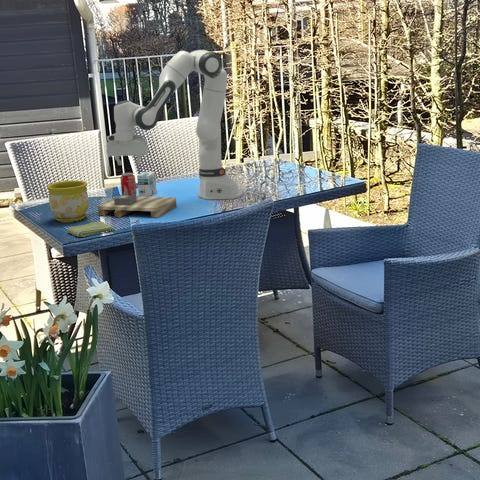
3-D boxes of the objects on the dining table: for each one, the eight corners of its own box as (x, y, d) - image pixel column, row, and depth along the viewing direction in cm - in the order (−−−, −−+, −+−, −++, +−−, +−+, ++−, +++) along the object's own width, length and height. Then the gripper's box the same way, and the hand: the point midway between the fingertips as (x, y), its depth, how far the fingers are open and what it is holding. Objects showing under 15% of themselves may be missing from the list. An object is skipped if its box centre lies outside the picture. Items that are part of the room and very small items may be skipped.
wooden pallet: (178, 205, 375) (177, 196, 374) (155, 218, 352) (154, 209, 350) (122, 203, 385) (121, 194, 384) (96, 216, 361) (95, 207, 360)
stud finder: (136, 201, 367) (136, 195, 366) (130, 205, 360) (129, 198, 359) (121, 201, 369) (120, 194, 368) (114, 204, 363) (113, 198, 362)
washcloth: (116, 231, 335) (116, 224, 334) (79, 240, 325) (78, 232, 324) (102, 226, 345) (101, 219, 344) (65, 234, 335) (64, 227, 334)
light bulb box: (150, 196, 399) (149, 175, 396) (138, 196, 400) (136, 175, 398) (157, 191, 409) (155, 171, 406) (144, 191, 410) (143, 171, 408)
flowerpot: (93, 213, 368) (89, 179, 363) (87, 222, 351) (83, 187, 346) (55, 215, 368) (51, 181, 363) (47, 225, 350) (43, 189, 346)
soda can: (122, 197, 378) (120, 173, 375) (137, 196, 378) (134, 172, 375) (122, 200, 371) (119, 175, 368) (136, 199, 372) (134, 174, 369)
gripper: (148, 134, 366) (151, 163, 369) (110, 135, 372) (113, 163, 376) (142, 136, 360) (145, 166, 364) (103, 137, 367) (107, 166, 371)
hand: (128, 164), depth 370 cm, fingers open, 8 cm apart
